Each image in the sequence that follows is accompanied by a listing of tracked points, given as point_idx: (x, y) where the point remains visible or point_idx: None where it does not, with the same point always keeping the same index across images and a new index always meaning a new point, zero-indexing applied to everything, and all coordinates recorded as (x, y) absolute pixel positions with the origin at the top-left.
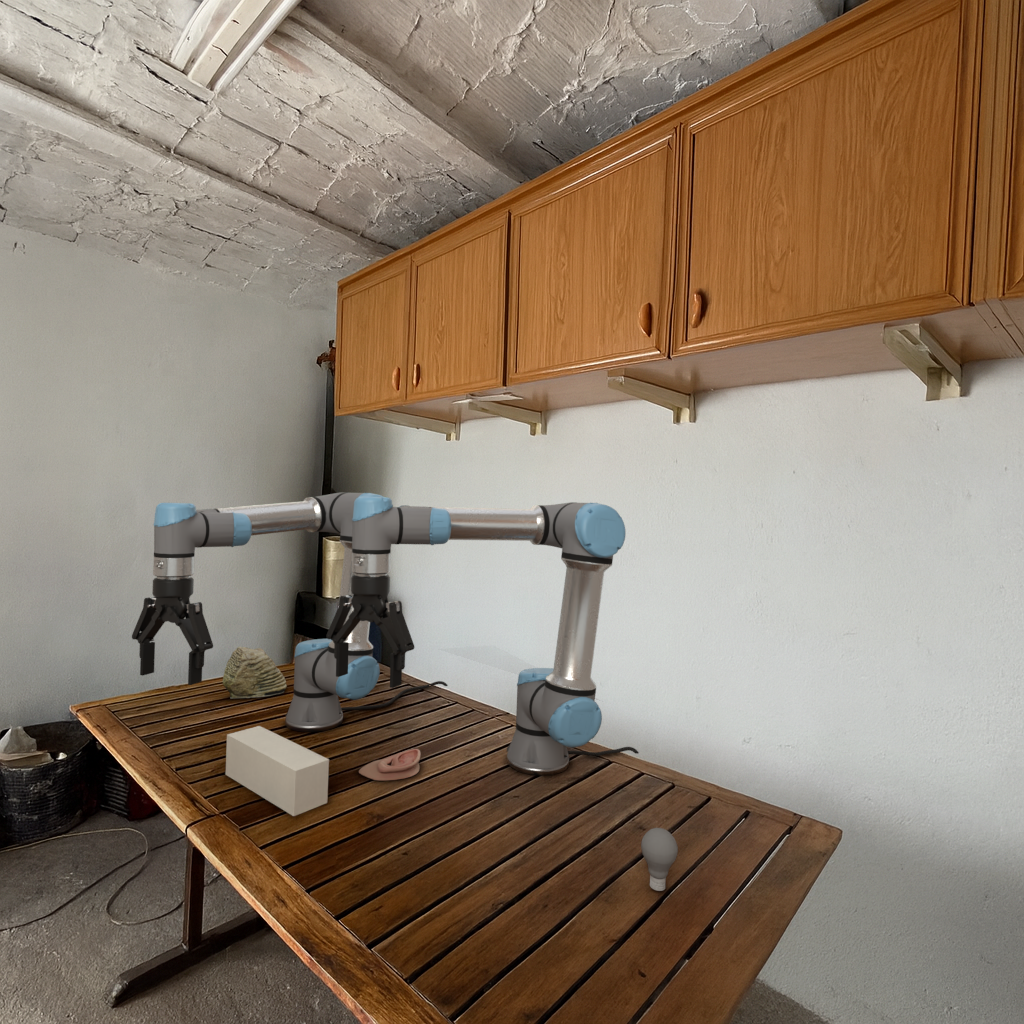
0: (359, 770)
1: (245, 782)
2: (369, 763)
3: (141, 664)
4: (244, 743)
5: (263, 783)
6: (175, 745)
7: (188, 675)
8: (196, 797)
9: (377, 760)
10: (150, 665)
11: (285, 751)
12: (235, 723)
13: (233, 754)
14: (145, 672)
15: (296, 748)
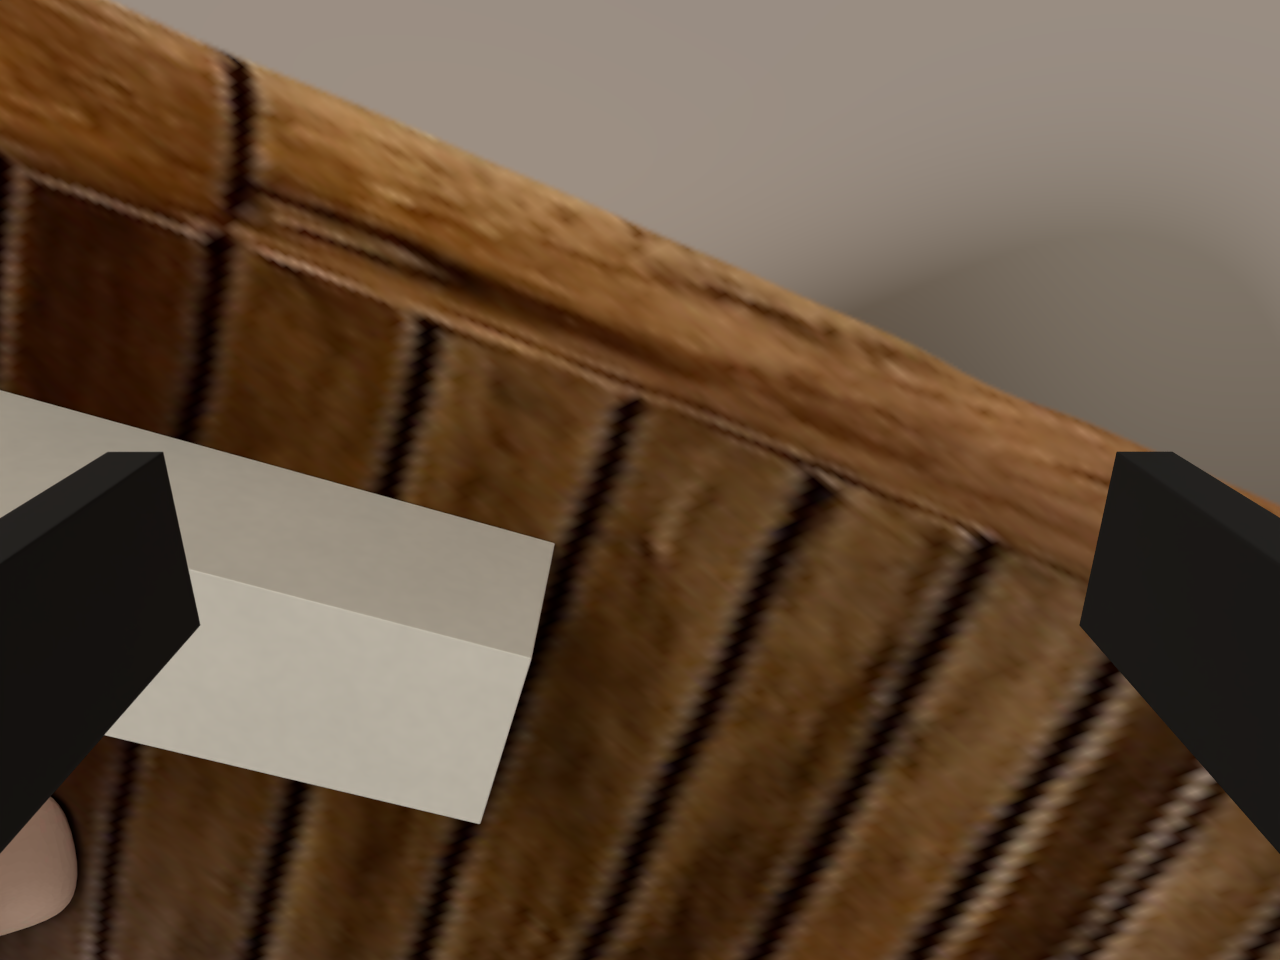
0: (46, 803)
1: (355, 497)
2: (44, 860)
3: (1259, 523)
4: (318, 605)
5: None
6: (1050, 672)
7: (75, 505)
8: (470, 305)
9: (26, 889)
10: (1156, 634)
11: None
12: (972, 949)
13: (462, 584)
14: (1126, 511)
15: None
